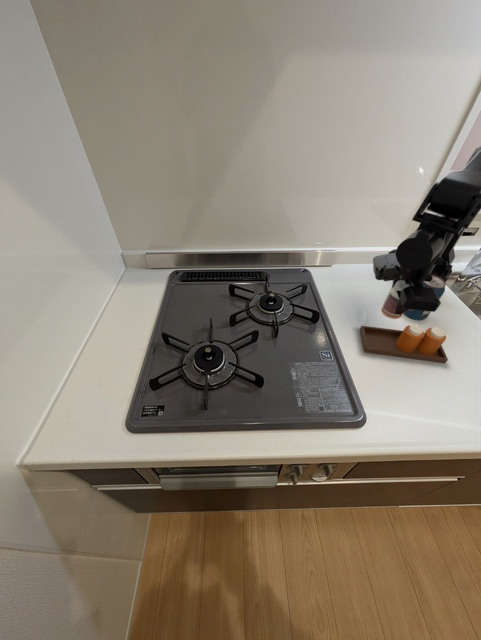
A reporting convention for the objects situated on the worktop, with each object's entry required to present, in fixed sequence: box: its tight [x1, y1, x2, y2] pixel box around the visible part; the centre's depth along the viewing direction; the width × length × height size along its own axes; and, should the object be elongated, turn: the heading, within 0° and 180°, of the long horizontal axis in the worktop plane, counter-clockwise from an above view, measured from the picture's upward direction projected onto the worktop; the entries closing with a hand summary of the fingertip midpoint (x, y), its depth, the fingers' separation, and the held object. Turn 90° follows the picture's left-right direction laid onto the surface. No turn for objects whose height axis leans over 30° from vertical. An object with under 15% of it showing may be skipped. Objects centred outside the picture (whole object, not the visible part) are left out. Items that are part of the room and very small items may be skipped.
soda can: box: [403, 275, 447, 321], centre depth 77 cm, size 7×7×12 cm
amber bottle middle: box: [396, 324, 425, 353], centre depth 69 cm, size 4×4×6 cm
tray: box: [359, 325, 449, 364], centre depth 71 cm, size 8×19×2 cm, turn 80°
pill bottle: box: [380, 280, 408, 320], centre depth 64 cm, size 5×5×8 cm
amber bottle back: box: [416, 326, 447, 355], centre depth 69 cm, size 4×4×6 cm
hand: (394, 306), depth 66 cm, fingers closed on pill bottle, 5 cm apart
